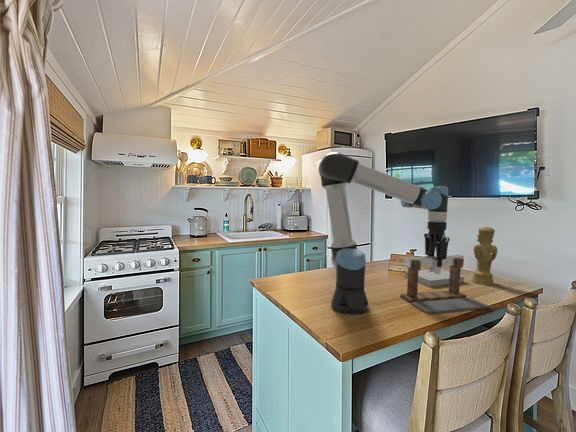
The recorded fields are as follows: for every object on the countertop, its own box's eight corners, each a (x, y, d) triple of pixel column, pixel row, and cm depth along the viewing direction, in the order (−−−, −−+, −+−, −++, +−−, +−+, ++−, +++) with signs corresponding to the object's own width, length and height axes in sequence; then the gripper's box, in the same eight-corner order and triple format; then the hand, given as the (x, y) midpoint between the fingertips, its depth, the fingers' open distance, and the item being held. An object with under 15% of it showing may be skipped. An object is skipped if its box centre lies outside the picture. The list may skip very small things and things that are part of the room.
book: (465, 276, 155) (430, 280, 147) (464, 283, 155) (430, 288, 147) (437, 267, 172) (404, 271, 164) (437, 274, 172) (404, 277, 164)
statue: (490, 280, 159) (494, 226, 157) (498, 285, 150) (502, 228, 148) (467, 278, 162) (471, 225, 160) (474, 283, 153) (477, 227, 150)
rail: (409, 267, 126) (409, 258, 126) (405, 266, 129) (405, 257, 129) (463, 264, 133) (464, 256, 132) (458, 263, 135) (458, 254, 135)
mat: (427, 314, 114) (427, 312, 114) (411, 304, 124) (411, 302, 124) (489, 308, 121) (489, 306, 121) (469, 299, 131) (469, 297, 131)
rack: (409, 303, 126) (411, 262, 124) (400, 297, 132) (401, 258, 131) (466, 298, 132) (468, 259, 130) (454, 292, 139) (456, 255, 137)
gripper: (458, 222, 122) (455, 277, 124) (431, 219, 138) (429, 267, 140) (443, 223, 121) (440, 278, 123) (417, 219, 136) (415, 268, 138)
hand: (434, 272), depth 131 cm, fingers closed on rail, 3 cm apart
